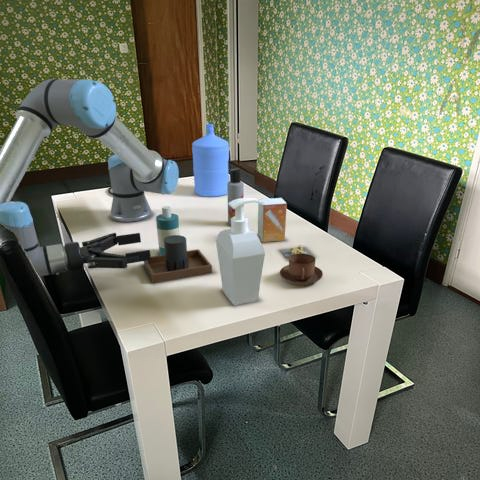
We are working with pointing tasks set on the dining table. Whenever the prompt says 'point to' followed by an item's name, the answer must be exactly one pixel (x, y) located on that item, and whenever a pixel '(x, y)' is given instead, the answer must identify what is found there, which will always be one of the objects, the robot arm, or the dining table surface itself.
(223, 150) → the water jug
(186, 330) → the dining table surface
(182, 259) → the cap
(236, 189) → the lotion bottle
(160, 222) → the capped bottle
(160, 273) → the tray
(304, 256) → the cup and saucer
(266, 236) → the small box
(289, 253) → the dice set
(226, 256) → the soap bottle
